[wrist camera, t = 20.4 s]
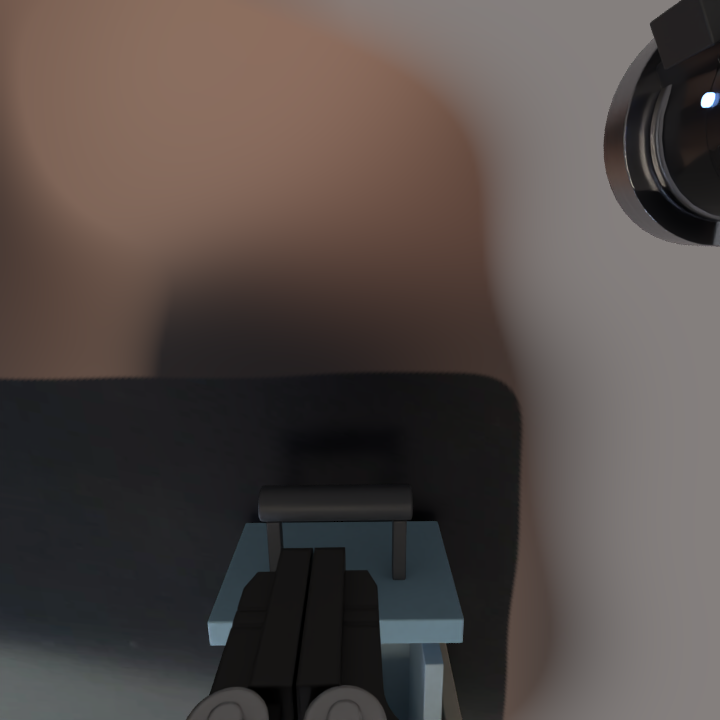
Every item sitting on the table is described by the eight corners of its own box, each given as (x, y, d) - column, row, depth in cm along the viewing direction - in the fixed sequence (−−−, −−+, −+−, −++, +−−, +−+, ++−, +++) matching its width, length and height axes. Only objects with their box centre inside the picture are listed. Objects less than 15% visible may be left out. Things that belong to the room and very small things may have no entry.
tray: (239, 445, 25) (195, 523, 18) (440, 443, 25) (470, 520, 18) (261, 714, 29) (233, 853, 23) (430, 712, 29) (451, 851, 23)
